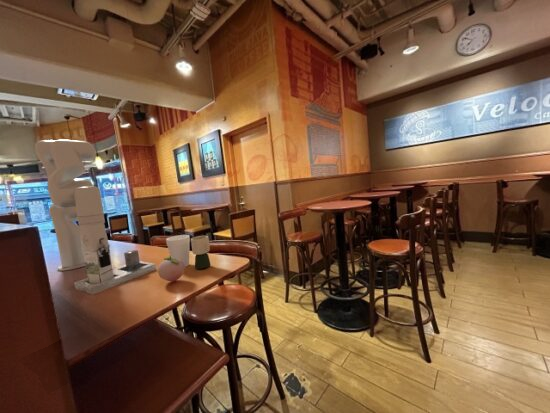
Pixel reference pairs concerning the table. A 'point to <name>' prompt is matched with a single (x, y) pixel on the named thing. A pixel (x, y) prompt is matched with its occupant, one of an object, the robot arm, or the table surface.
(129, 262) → the hole plate
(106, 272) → the syrup box
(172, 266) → the decorative fruit
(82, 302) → the table surface
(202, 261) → the character mug
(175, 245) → the foam cup
